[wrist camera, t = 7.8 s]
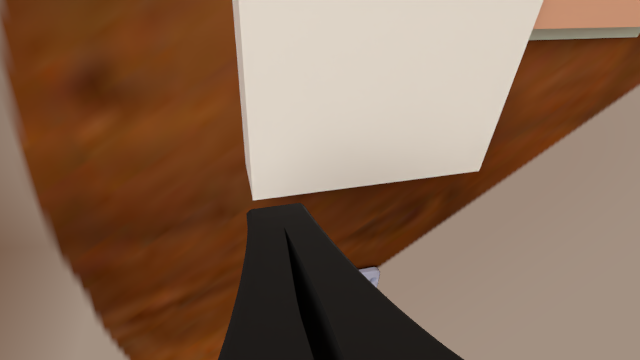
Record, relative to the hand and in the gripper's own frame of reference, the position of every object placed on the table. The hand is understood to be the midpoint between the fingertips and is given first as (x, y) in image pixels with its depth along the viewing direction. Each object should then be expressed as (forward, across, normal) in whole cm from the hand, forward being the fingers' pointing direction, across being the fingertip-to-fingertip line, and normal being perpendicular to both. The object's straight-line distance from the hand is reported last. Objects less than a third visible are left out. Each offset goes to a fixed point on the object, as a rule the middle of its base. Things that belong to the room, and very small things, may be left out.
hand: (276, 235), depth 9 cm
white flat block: (+9, -6, -3) cm, 12 cm away
